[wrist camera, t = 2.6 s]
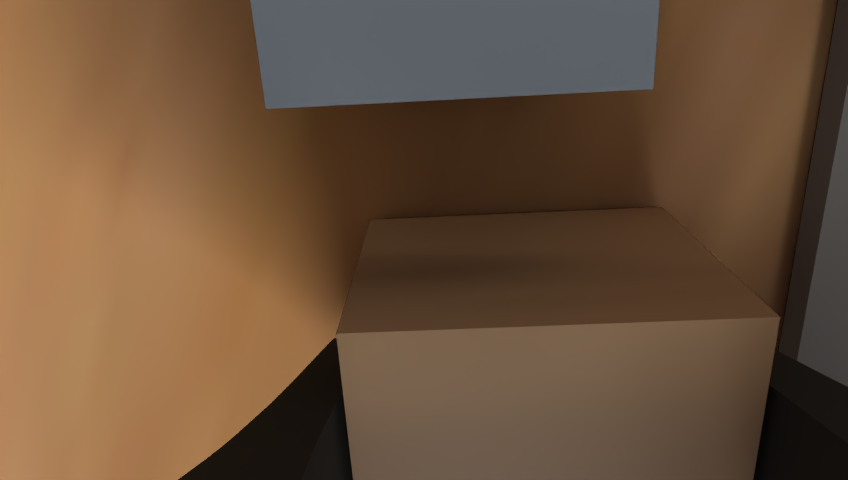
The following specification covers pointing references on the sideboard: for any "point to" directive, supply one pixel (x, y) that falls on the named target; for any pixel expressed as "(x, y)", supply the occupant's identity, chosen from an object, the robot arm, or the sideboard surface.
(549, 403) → the walnut block
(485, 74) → the blue block
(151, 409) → the sideboard surface
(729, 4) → the sideboard surface
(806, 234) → the mat
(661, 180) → the sideboard surface
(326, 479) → the robot arm
